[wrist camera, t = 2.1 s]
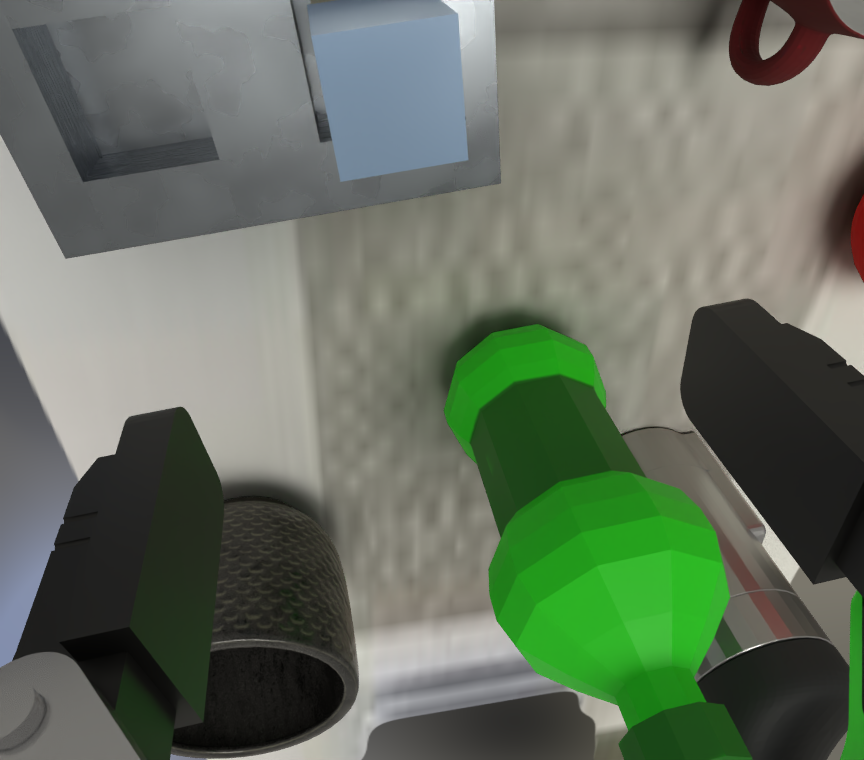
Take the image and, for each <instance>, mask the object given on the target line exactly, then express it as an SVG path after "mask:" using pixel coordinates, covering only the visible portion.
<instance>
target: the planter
mask: <svg viewBox="0 0 864 760" xmlns="http://www.w3.org/2000/svg"><path fill="white" fill-rule="evenodd" d="M358 688H359V671H358V661H357V653H356V644H355V636H354V629H353V622H352V615H351V608H350V602H349V596H348V590H347V585H346V580H345V576H344V573H343V569H342V565H341V562H340V558H339V555H338V553H337V551H336V548H335V546H334V544H333V542H332V541H331V539H330V537H329V535H328V534H327V533H326V532H325V531H324V530H323V529H322V527H321V526H320V525H319V524H318V523H317V522H315V521H314V520H313V519H311V518H310V517H309V516H307V515H306V514H304V513H302V512H300V511H298V510H296V509H294V508H292V507H291V506H289V505H288V504H286V503H284V502H281V501H278V500H275V499H271V498H266V497H257V496H248V497H239V498H234V499H230V500H227V501H224V521H223V531H222V541H221V551H220V561H219V571H218V581H217V591H216V601H215V611H214V621H213V631H212V640H211V650H210V660H209V670H208V680H207V690H206V700H205V710H204V720H203V722H202V723H198V724H193V725H189V726H185V727H180V728H176V729H174V732H173V740H172V747H171V754H173V755H179V756H185V757H193V758H209V759H211V758H236V757H246V756H253V755H259V754H264V753H269V752H273V751H278V750H281V749H284V748H288V747H291V746H294V745H297V744H299V743H302V742H304V741H307V740H309V739H311V738H313V737H315V736H317V735H319V734H321V733H323V732H324V731H326V730H327V729H329V728H331V727H332V726H333V725H335V724H336V723H337V722H338V721H340V720H341V719H342V718H343V717H344V716H345V714H346V713H347V712H348V711H349V710H350V709H351V707H352V705H353V704H354V702H355V700H356V696H357V693H358Z"/></svg>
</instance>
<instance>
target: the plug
mask: <svg viewBox="0 0 864 760" xmlns="http://www.w3.org/2000/svg"><path fill="white" fill-rule="evenodd" d="M310 1H311V4H308V5H307V9H308V17H309V24H310V32H311V38H312V43H313V48H314V53H315V58H316V63H317V68H318V73H319V78H320V83H321V88H322V93H323V98H324V102H325V107H326V112H327V117H328V122H329V127H330V132H331V137H332V142H333V147H334V152H335V157H336V162H337V167H338V172H339V177H340V182H343V181H349V180H354V179H360V178H366V177H372V176H378V175H384V174H390V173H396V172H402V171H407V170H413V169H419V168H425V167H431V166H437V165H443V164H449V163H454V162H460V161H466V160H468V148H467V134H466V120H465V106H464V91H463V77H462V63H461V48H460V34H459V20H458V13H457V12H455V11H454V10H453V9H451V8H450V7H449V6H448V5H446V4H445V3H444V2H442V1H441V0H310Z"/></svg>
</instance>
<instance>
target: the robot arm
mask: <svg viewBox="0 0 864 760" xmlns="http://www.w3.org/2000/svg"><path fill="white" fill-rule="evenodd" d="M680 391H681V399H682V403H683V406H684V409H685V411H686V414H687V416H688V418H689V419H690V421H691V422H692V423H693V425H694V426H695V427H696V429H697V430H698V431H699V433H700V434H701V435H702V437H703V438H704V439H705V441H706V442H707V443H708V445H709V446H710V447H711V449H712V450H713V451H714V453H715V454H716V455H717V457H718V458H719V459H720V461H721V462H722V463H723V465H724V466H725V467H726V469H727V470H728V471H729V473H730V474H731V475H732V477H733V478H734V479H735V481H736V482H737V483H738V485H739V486H740V487H741V489H742V490H743V491H744V493H745V494H746V495H747V497H748V498H749V499H750V501H751V502H752V503H753V505H754V506H755V507H756V509H757V510H758V511H759V513H760V514H761V515H762V517H763V518H764V519H765V521H766V522H767V523H768V525H769V526H770V527H771V529H772V530H773V531H774V533H775V534H776V535H777V537H778V538H779V539H780V541H781V542H782V543H783V545H784V546H785V547H786V549H787V550H788V551H789V553H790V554H791V555H792V557H793V558H794V559H795V561H796V562H797V563H798V565H799V566H800V567H801V569H802V570H803V571H804V573H805V574H806V575H807V577H808V578H809V579H810V581H811V582H812V583H813V584H817V583H822V582H826V581H830V580H835V579H839V578H843V577H847V578H848V579H849V581H850V582H851V583H852V584H853V586H854V587H855V588H856V589H857V590H856V592H855V594H854V596H853V598H852V601H851V614H850V615H851V616H850V667H849V665H848V664H847V663H846V662H845V660H844V659H843V657H842V656H841V654H840V653H839V652H838V650H837V649H836V647H834V645H833V643H832V642H831V641H830V639H829V638H828V636H827V635H826V634H825V632H824V631H823V629H822V628H821V627H820V625H819V624H818V622H817V621H816V620H815V618H814V617H813V615H812V614H811V613H810V611H809V610H808V609H807V607H806V606H805V604H804V603H803V601H802V600H801V599H800V597H799V596H798V595H797V593H796V592H795V591H794V589H793V588H792V586H791V585H790V584H789V582H788V581H787V579H786V578H785V577H784V575H783V574H782V572H781V571H780V570H779V568H778V567H777V565H776V564H775V563H774V561H773V560H772V558H771V557H770V556H769V554H768V553H767V551H766V550H765V549H764V547H763V546H762V542H763V539H764V537H765V534H766V529H765V526H764V525H763V523H762V522H761V520H760V519H759V518H758V516H757V515H756V514H755V512H754V511H753V510H752V508H751V507H750V506H749V504H748V503H747V502H746V500H745V499H744V498H743V496H742V495H741V494H740V492H739V491H738V489H737V488H736V487H735V485H734V484H733V483H732V481H731V480H730V479H729V477H728V476H727V475H726V473H725V472H724V471H723V469H722V468H721V467H720V465H719V464H718V463H717V461H716V460H715V458H714V457H713V456H712V454H711V453H710V452H709V450H708V449H707V448H706V446H705V445H704V444H703V442H702V441H701V440H700V438H699V437H698V436H697V434H696V433H689V434H680V433H678V432H675V431H673V430H670V429H663V428H648V429H643V430H637V431H634V432H631V433H628V434H625V435H623V436H622V437H623V439H624V441H625V442H626V444H627V446H628V447H629V449H630V451H631V452H632V454H633V456H634V457H635V459H636V461H637V462H638V464H639V466H640V467H641V469H642V471H643V472H644V474H645V476H646V477H647V478H648V479H651V480H654V481H657V482H660V483H664V484H667V485H670V486H673V487H676V488H679V489H680V490H682V491H683V492H684V493H685V494H686V495H687V496H688V497H689V498H690V499H691V500H692V501H693V502H694V503H695V504H696V505H697V506H698V507H700V509H701V510H702V512H703V513H704V515H705V516H706V518H707V519H708V521H709V522H710V524H711V525H712V527H713V528H714V530H715V531H716V535H717V540H718V544H719V548H720V552H721V556H722V560H723V564H724V569H725V573H726V579H727V584H728V589H729V594H730V599H729V601H728V604H727V606H726V609H725V611H724V614H723V616H722V619H721V621H720V624H719V626H718V629H717V631H716V634H715V636H714V639H713V641H712V643H711V645H710V647H709V649H708V651H707V653H706V655H705V657H704V659H703V661H702V663H701V665H700V667H699V669H698V671H697V673H696V675H695V677H694V679H695V681H696V683H697V684H698V686H699V688H700V690H701V692H702V694H703V696H704V698H705V700H706V702H707V703H715V704H723V705H725V707H726V709H727V711H728V713H729V715H730V717H731V719H732V721H733V722H734V724H735V726H736V728H737V730H738V732H739V734H740V736H741V738H742V739H743V741H744V743H745V745H746V747H747V749H748V751H749V753H750V755H751V756H752V759H753V760H827V758H828V756H829V755H830V753H831V752H832V750H833V749H834V747H835V746H836V744H837V743H838V742H839V740H840V739H841V738H842V737H843V735H844V734H845V733H846V732H847V730H848V732H847V738H846V743H845V746H844V750H843V752H842V756H841V758H840V760H864V375H862V374H861V373H860V372H859V371H858V370H857V369H855V368H854V367H853V366H852V365H849V366H847V364H846V360H845V359H844V358H842V357H841V356H840V355H839V354H838V353H837V352H835V351H834V350H833V349H832V348H831V347H830V346H828V345H827V344H826V343H825V342H824V341H823V340H821V339H820V338H817V337H815V336H813V335H811V334H809V333H807V332H805V331H803V330H801V329H798V328H796V327H794V326H792V325H790V324H788V323H785V324H780V323H779V322H778V321H777V320H776V319H775V318H774V317H773V316H771V315H770V314H769V313H768V312H767V311H766V310H765V309H764V308H762V307H761V306H760V305H759V304H758V303H757V302H755V301H754V300H752V299H741V300H736V301H731V302H726V303H721V304H715V305H710V306H705V307H701V308H699V309H698V310H697V311H696V312H695V314H694V316H693V319H692V324H691V329H690V335H689V340H688V345H687V351H686V356H685V361H684V367H683V372H682V377H681V384H680ZM63 519H64V524H62V525H61V526H60V529H59V532H58V534H57V537H56V540H55V543H54V545H55V551H51V554H50V557H49V560H48V563H47V566H46V568H45V571H44V574H43V577H42V580H41V583H40V586H39V588H38V591H37V594H36V597H35V600H34V602H33V606H32V608H31V611H30V614H29V617H28V619H27V622H26V625H25V628H24V631H23V634H22V637H21V639H20V642H19V645H18V648H17V651H16V653H15V655H14V658H13V660H12V662H10V663H8V664H6V665H4V666H2V667H1V668H0V760H170V755H171V747H172V740H173V732H174V729H176V728H180V727H185V726H189V725H193V724H198V723H202V722H203V720H204V710H205V700H206V690H207V680H208V670H209V660H210V650H211V640H212V631H213V621H214V611H215V601H216V591H217V581H218V571H219V561H220V551H221V541H222V531H223V521H224V499H223V492H222V487H221V483H220V480H219V477H218V475H217V472H216V470H215V468H214V466H213V464H212V462H211V460H210V457H209V455H208V453H207V451H206V449H205V447H204V445H203V443H202V440H201V438H200V436H199V434H198V432H197V430H196V428H195V426H194V423H193V421H192V419H191V417H190V415H189V414H188V412H187V411H186V410H185V409H184V408H183V407H176V408H171V409H166V410H161V411H156V412H150V413H145V414H140V415H135V416H131V417H129V418H128V419H127V420H126V422H125V424H124V427H123V431H122V434H121V437H120V441H119V444H118V447H117V451H116V454H115V455H109V456H104V457H99V458H98V459H97V460H96V461H95V462H94V463H93V465H92V466H91V467H90V468H89V470H88V471H87V472H86V473H85V475H84V476H83V477H82V478H81V479H80V481H79V482H78V483H77V484H76V486H75V487H74V489H73V492H72V495H71V498H70V500H69V503H68V506H67V509H66V512H65V515H64V518H63Z"/></svg>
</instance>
